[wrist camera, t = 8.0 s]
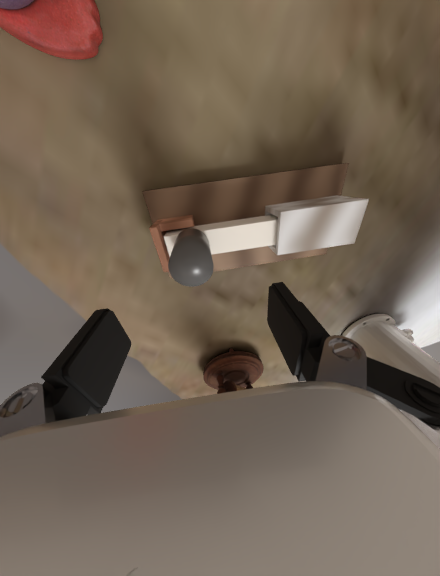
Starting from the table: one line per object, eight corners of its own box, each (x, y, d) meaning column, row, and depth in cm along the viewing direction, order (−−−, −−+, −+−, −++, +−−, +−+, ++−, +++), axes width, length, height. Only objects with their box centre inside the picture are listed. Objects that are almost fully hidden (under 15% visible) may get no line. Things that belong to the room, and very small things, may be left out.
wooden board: (342, 163, 22) (387, 158, 17) (321, 251, 29) (349, 267, 23) (144, 190, 21) (128, 195, 16) (171, 274, 28) (165, 297, 22)
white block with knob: (275, 210, 22) (316, 226, 14) (273, 240, 24) (308, 268, 17) (166, 226, 21) (150, 251, 14) (174, 255, 24) (164, 291, 16)
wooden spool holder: (191, 371, 43) (188, 494, 26) (230, 337, 38) (257, 463, 21) (233, 385, 49) (252, 492, 32) (271, 358, 44) (317, 468, 27)
